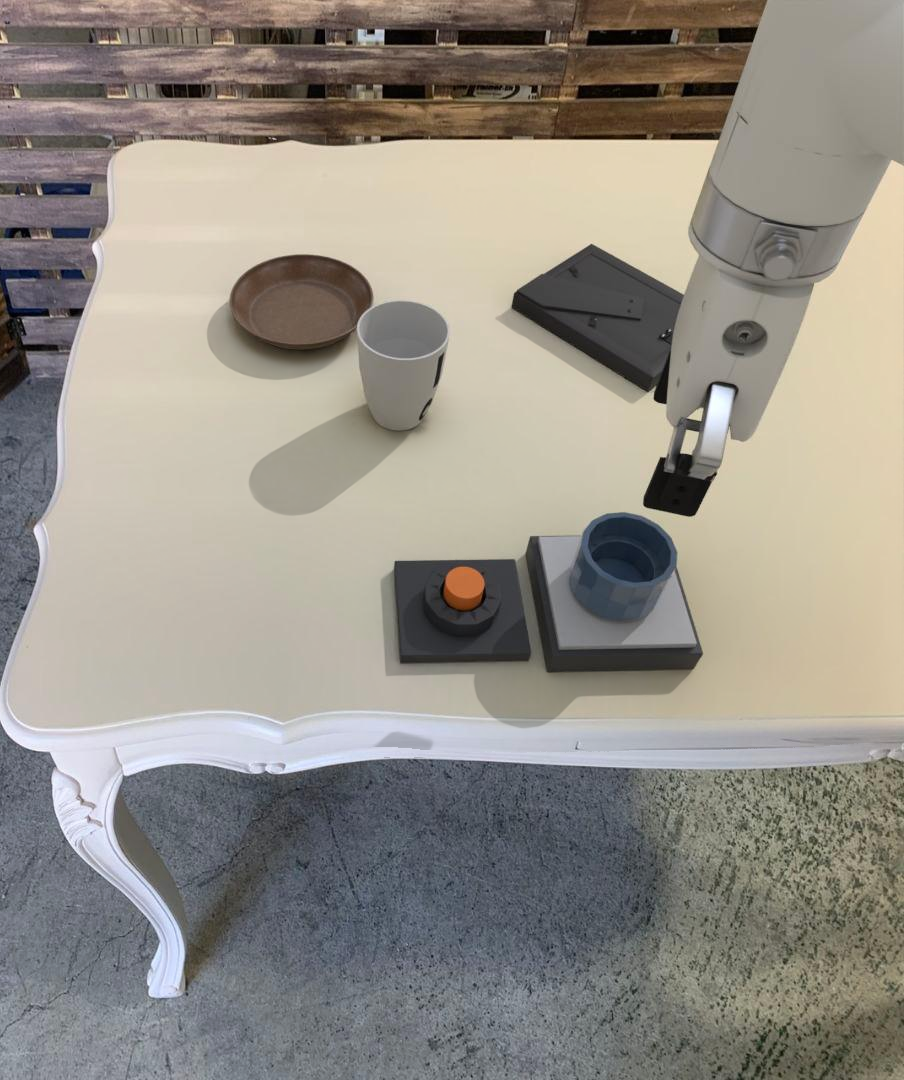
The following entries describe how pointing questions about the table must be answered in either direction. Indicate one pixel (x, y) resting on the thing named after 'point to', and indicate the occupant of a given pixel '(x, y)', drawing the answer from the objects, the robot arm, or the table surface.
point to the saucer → (301, 300)
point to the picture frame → (606, 312)
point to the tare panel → (459, 614)
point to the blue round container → (622, 566)
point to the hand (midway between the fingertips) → (672, 453)
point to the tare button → (463, 588)
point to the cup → (401, 360)
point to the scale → (604, 621)
